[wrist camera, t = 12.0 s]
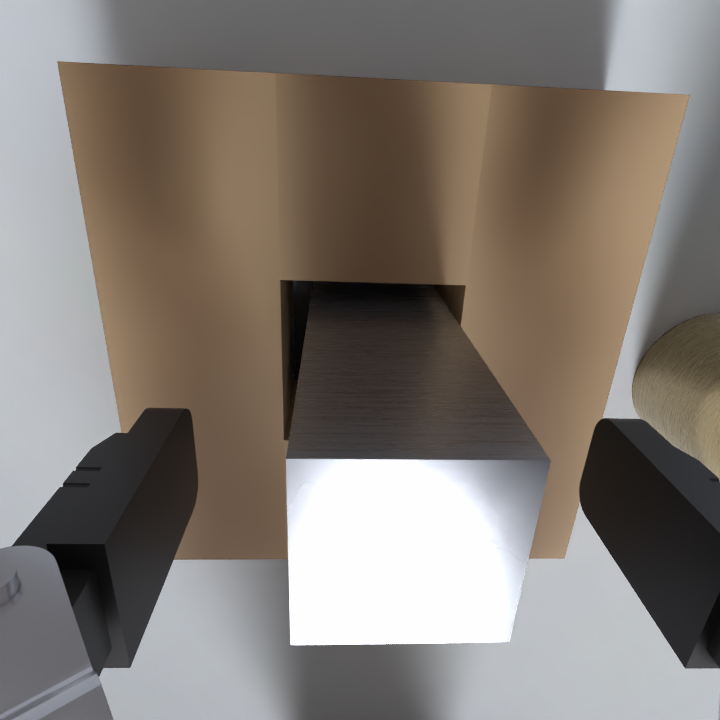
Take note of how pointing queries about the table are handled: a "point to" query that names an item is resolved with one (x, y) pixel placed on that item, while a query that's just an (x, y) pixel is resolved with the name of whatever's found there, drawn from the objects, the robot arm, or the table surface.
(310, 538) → the square bit
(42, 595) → the robot arm
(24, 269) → the table surface
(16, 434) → the table surface
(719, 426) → the round bit
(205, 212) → the bore block
